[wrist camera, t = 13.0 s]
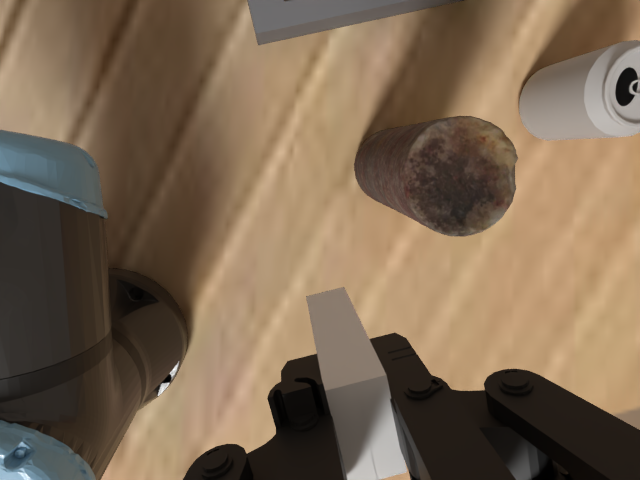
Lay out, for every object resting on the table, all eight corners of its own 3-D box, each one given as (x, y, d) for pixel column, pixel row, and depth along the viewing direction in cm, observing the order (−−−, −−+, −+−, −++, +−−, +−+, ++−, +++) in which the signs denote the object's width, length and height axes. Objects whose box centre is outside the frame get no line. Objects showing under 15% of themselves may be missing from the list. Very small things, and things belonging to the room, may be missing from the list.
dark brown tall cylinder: (340, 189, 44) (390, 219, 24) (361, 120, 43) (431, 92, 23) (408, 209, 45) (507, 253, 25) (430, 142, 44) (552, 134, 24)
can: (519, 63, 43) (610, 29, 31) (587, 69, 44) (700, 38, 32) (509, 138, 44) (591, 133, 33) (575, 142, 45) (678, 139, 34)
